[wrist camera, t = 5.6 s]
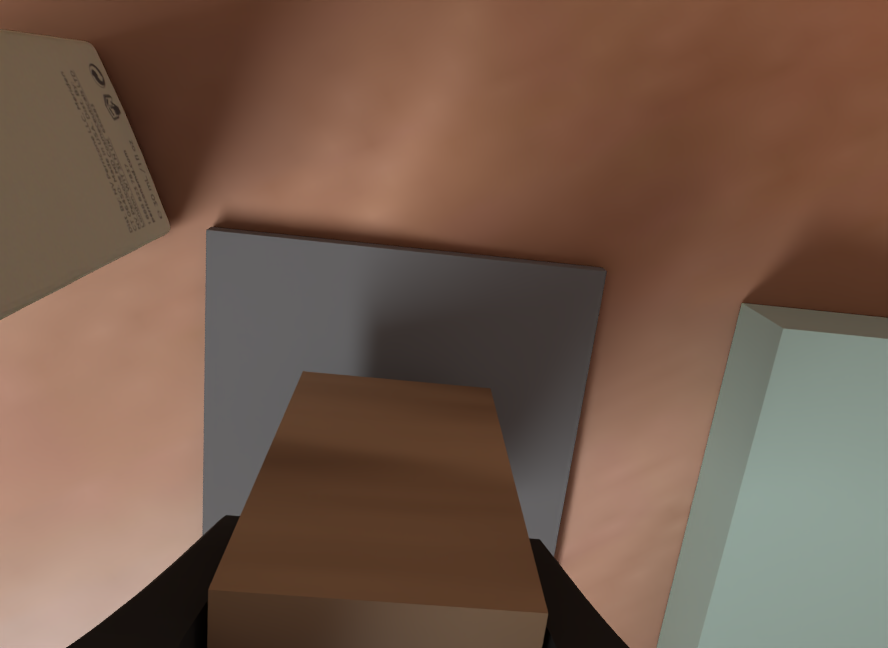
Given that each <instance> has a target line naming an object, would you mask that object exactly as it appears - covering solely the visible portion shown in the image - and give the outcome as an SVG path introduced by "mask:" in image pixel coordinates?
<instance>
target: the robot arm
mask: <svg viewBox="0 0 888 648" xmlns="http://www.w3.org/2000/svg"><path fill="white" fill-rule="evenodd" d="M239 517H240V516H233V515H225V516H224V517H223V518H221V519H220V520H219V521H218V522H217V523H216V524H215V525H214V526H212V527H211V528H210V529H209V530H208V531H207V532H206V533H205V534H204V535H203V536H202V537H201V538H200V539H199V540H198V541H197V542H196V543H195V544H193V545H192V546H191V547H190V548H189V549H188V550H187V551H186V552H185V553H184V554H183V555H182V556H180V557H179V558H178V559H177V560H176V561H175V562H174V563H173V564H172V565H171V566H169V567H168V568H167V569H166V570H165V571H164V572H162V573H161V574H160V575H159V576H158V577H157V578H156V579H154V580H153V581H152V582H151V583H150V584H149V585H148V586H146V587H145V588H144V589H143V590H142V591H141V592H139V593H138V594H137V595H136V596H134V597H133V598H132V599H131V600H129V601H128V602H127V603H126V604H124V605H123V606H122V607H120V608H119V609H118V610H117V611H115V612H114V613H113V614H112V615H110V616H109V617H108V618H106V619H105V620H104V621H103V622H101V623H100V624H99V625H97V626H96V627H95V628H93V629H92V630H91V631H89V632H88V633H87V634H85V635H84V636H82V637H81V638H80V639H78V640H77V641H75V642H74V643H72V644H71V645H70V646H68V647H66V648H207V632H208V589H209V587H210V584H211V582H212V580H213V577H214V575H215V573H216V571H217V568H218V566H219V564H220V561H221V559H222V557H223V554H224V552H225V550H226V547H227V545H228V543H229V541H230V538H231V536H232V534H233V531H234V529H235V527H236V524H237V522H238V520H239ZM529 540H530V544H531V548H532V552H533V556H534V560H535V563H536V567H537V571H538V575H539V579H540V583H541V587H542V591H543V595H544V598H545V602H546V606H547V610H548V618H547V623H546V629H545V634H544V639H543V645H542V648H629V647H628V646H627V645H626V644H625V642H624V641H623V640H622V639H621V638H620V637H619V636H618V635H617V634H616V633H615V632H614V631H613V629H612V628H611V627H610V626H609V625H608V624H607V623H606V621H605V620H604V619H603V618H602V617H601V616H600V614H599V613H598V612H597V611H596V610H595V608H594V607H593V606H592V605H591V604H590V602H589V601H588V600H587V599H586V598H585V596H584V595H583V594H582V593H581V591H580V590H579V589H578V588H577V586H576V585H575V584H574V582H573V581H572V580H571V579H570V577H569V576H568V575H567V573H566V572H565V571H564V570H563V568H562V567H561V566H560V564H559V563H558V562H557V560H556V559H555V558H554V557H553V555H552V554H551V553H550V551H549V550H548V549H547V548H546V546H545V545H544V544H543V543H542V541H541V540H540V539H531V538H529Z"/></svg>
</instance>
